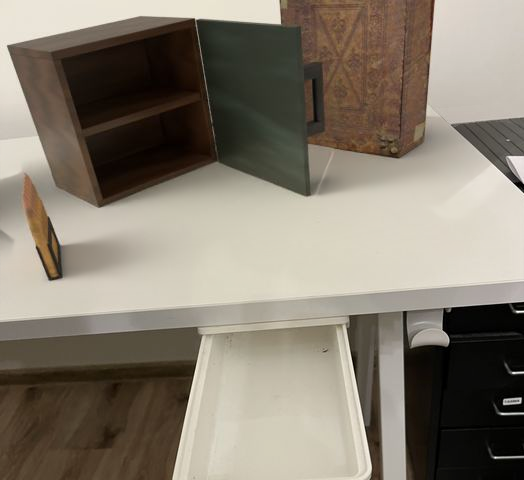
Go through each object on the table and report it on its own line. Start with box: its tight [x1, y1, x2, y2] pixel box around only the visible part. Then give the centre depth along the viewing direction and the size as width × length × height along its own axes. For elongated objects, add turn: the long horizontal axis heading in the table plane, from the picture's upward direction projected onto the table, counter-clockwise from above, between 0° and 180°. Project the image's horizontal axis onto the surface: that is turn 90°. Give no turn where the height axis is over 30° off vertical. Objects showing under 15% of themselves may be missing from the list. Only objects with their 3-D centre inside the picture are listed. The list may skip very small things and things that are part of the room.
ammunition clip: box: [21, 173, 63, 281], centre depth 77 cm, size 11×2×12 cm, turn 18°
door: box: [195, 18, 325, 197], centre depth 92 cm, size 7×26×24 cm, turn 37°
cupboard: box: [6, 15, 218, 209], centre depth 100 cm, size 18×26×24 cm
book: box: [278, 0, 436, 159], centre depth 99 cm, size 25×9×30 cm, turn 49°
